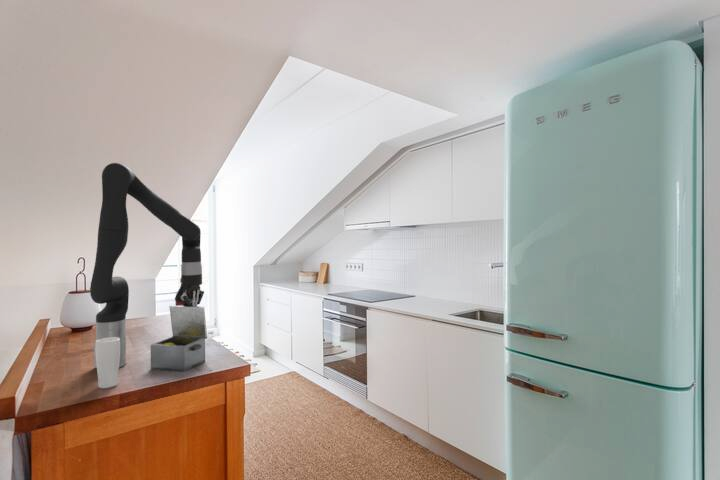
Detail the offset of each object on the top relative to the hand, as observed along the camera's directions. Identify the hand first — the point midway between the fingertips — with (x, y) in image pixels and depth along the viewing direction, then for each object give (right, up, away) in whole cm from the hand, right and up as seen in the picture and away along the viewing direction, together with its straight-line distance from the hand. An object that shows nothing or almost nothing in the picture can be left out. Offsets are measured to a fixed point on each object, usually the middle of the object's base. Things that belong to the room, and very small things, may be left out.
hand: (192, 316), depth 149 cm
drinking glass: (-15, -17, -28) cm, 36 cm away
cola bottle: (-13, -17, +23) cm, 31 cm away
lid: (0, -2, -3) cm, 4 cm away
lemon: (-2, -15, -8) cm, 17 cm away
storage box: (-1, -17, -8) cm, 19 cm away
